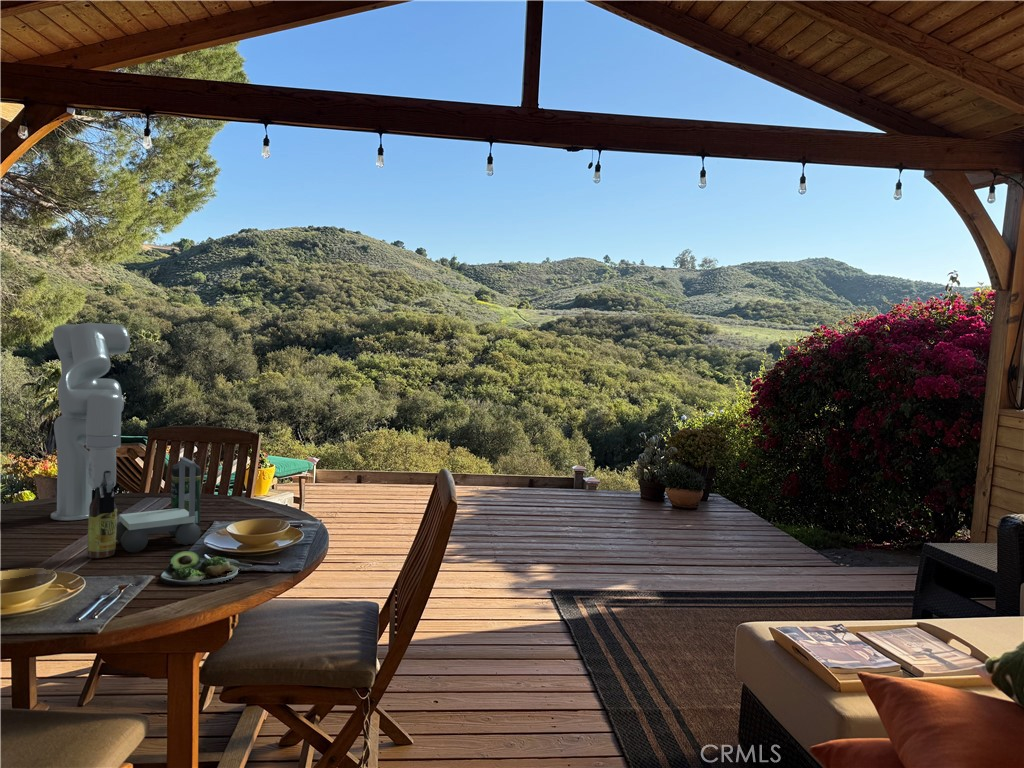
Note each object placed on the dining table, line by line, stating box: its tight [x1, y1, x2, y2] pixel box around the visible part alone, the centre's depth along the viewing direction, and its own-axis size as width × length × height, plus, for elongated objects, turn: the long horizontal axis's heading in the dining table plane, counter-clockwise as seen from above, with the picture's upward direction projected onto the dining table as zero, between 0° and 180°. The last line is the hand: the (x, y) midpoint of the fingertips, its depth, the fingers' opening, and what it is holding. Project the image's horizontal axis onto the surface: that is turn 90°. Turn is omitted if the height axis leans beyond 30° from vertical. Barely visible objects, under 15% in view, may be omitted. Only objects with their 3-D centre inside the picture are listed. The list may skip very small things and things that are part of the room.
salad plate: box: [159, 550, 253, 586], centre depth 166 cm, size 19×18×5 cm
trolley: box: [116, 456, 202, 554], centre depth 188 cm, size 12×19×22 cm, turn 130°
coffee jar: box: [170, 461, 202, 525], centre depth 209 cm, size 10×8×19 cm
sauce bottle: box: [86, 487, 118, 559], centre depth 175 cm, size 7×6×20 cm
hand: (102, 508), depth 175 cm, fingers open, 9 cm apart
